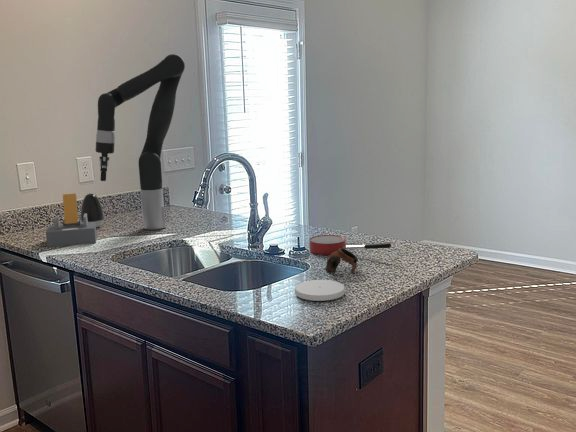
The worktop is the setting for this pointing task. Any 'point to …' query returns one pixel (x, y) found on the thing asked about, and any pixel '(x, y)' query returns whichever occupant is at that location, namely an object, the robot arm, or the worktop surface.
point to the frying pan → (337, 244)
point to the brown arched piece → (335, 260)
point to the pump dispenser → (92, 210)
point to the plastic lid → (319, 290)
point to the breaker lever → (70, 210)
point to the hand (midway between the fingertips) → (103, 179)
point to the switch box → (71, 233)
